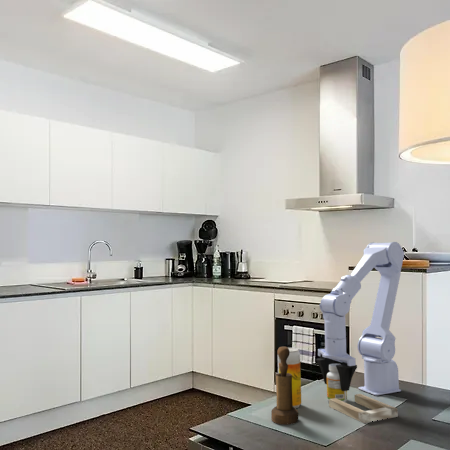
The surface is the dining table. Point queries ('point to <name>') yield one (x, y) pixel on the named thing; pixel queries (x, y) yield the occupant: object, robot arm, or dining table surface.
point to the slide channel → (375, 414)
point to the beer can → (294, 374)
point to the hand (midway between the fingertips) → (336, 387)
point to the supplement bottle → (334, 385)
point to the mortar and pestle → (284, 393)
